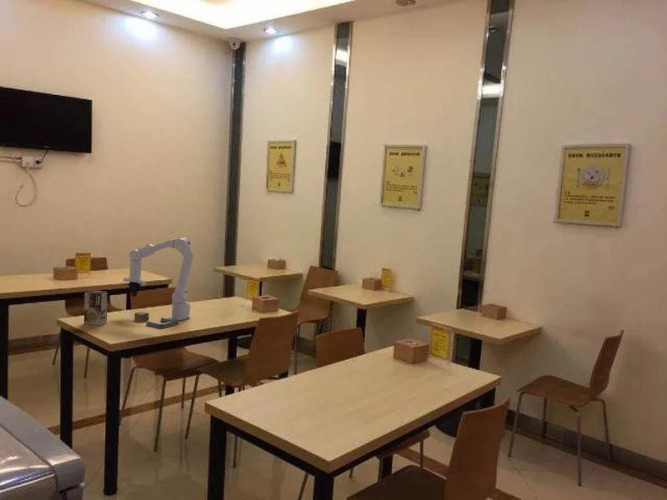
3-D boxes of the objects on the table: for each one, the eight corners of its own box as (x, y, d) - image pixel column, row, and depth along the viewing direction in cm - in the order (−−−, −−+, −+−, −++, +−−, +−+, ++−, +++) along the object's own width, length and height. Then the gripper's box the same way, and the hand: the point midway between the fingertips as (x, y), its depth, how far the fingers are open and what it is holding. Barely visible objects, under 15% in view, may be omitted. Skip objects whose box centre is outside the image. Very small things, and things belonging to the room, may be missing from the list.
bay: (162, 320, 288) (162, 317, 288) (177, 324, 284) (177, 320, 284) (146, 325, 277) (146, 321, 277) (161, 328, 273) (161, 324, 273)
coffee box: (107, 322, 275) (108, 291, 274) (100, 325, 269) (101, 293, 267) (90, 320, 276) (91, 289, 274) (83, 323, 270) (84, 291, 268)
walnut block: (141, 318, 289) (141, 311, 289) (148, 320, 287) (148, 312, 287) (134, 320, 285) (134, 312, 285) (141, 322, 283) (141, 314, 282)
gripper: (151, 272, 294) (149, 297, 295) (130, 268, 300) (129, 293, 301) (141, 273, 287) (140, 299, 289) (121, 270, 293) (119, 294, 295)
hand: (134, 296), depth 294 cm, fingers closed
